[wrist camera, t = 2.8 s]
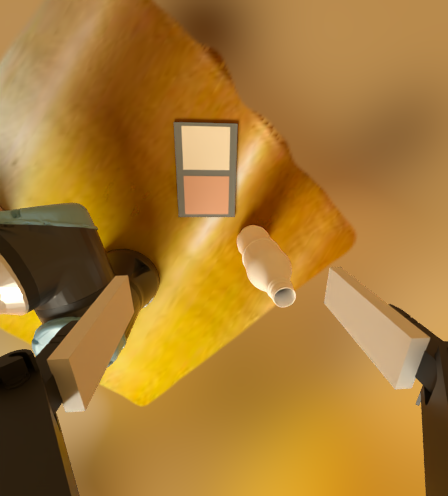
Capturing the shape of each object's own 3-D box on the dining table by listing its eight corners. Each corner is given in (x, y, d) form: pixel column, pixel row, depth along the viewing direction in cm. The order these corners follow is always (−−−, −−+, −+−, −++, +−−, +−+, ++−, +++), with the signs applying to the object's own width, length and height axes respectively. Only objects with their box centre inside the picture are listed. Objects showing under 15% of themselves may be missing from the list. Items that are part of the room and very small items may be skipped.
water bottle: (266, 251, 54) (309, 318, 31) (235, 253, 54) (256, 322, 31) (267, 221, 52) (315, 270, 28) (235, 223, 52) (257, 273, 28)
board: (179, 216, 50) (178, 217, 49) (174, 122, 44) (173, 121, 43) (234, 216, 51) (234, 217, 50) (237, 124, 45) (237, 123, 44)
